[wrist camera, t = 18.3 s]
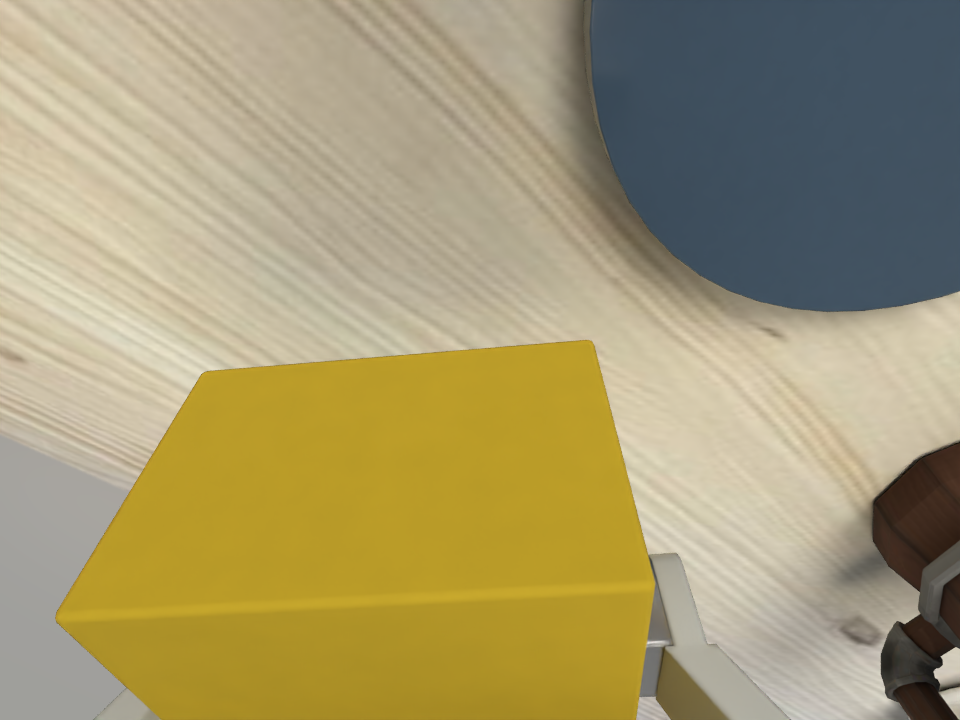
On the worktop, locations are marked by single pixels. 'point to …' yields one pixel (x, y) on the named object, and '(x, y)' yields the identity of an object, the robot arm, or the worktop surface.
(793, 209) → the plate
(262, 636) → the yellow block
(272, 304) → the worktop surface
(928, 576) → the mug
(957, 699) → the vase
